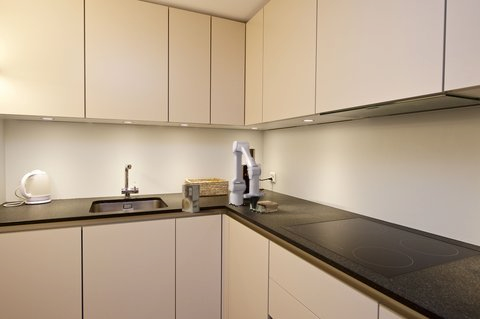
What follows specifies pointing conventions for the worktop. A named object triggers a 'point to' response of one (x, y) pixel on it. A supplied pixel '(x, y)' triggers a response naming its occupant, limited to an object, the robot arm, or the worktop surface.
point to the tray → (258, 208)
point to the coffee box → (190, 198)
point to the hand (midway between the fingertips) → (253, 208)
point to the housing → (268, 205)
